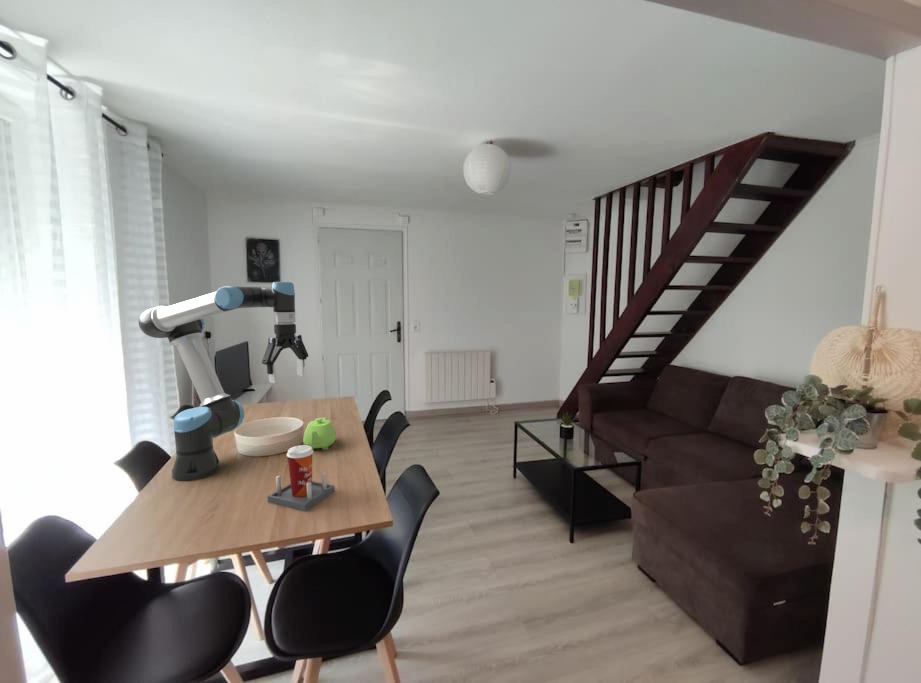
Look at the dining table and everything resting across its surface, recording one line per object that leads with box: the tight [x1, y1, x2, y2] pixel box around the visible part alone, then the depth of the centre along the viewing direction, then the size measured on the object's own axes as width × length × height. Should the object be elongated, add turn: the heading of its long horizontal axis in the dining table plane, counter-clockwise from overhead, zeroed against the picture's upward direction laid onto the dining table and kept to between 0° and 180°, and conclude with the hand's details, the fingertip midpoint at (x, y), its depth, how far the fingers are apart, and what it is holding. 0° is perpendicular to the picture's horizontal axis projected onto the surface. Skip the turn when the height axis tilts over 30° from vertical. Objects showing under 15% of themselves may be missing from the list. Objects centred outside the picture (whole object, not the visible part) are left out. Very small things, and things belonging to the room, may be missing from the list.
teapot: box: [302, 416, 337, 451], centre depth 179 cm, size 20×13×13 cm
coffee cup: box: [286, 444, 314, 497], centre depth 135 cm, size 8×8×15 cm
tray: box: [267, 473, 336, 512], centre depth 135 cm, size 15×14×7 cm
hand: (287, 379), depth 157 cm, fingers open, 13 cm apart
